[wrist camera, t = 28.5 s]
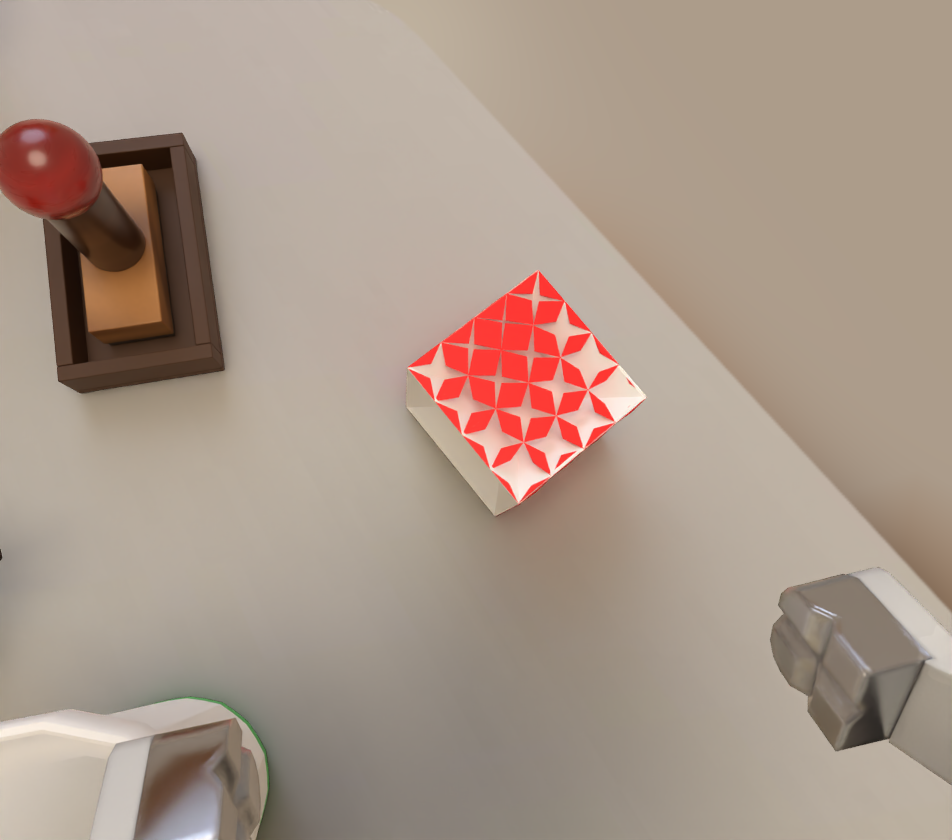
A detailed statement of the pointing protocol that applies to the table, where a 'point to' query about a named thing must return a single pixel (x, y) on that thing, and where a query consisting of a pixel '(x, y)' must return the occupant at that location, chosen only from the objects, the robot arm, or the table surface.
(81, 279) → the stamp tray
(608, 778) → the table surface
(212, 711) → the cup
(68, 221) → the stamp
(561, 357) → the red and white cube
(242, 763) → the robot arm
